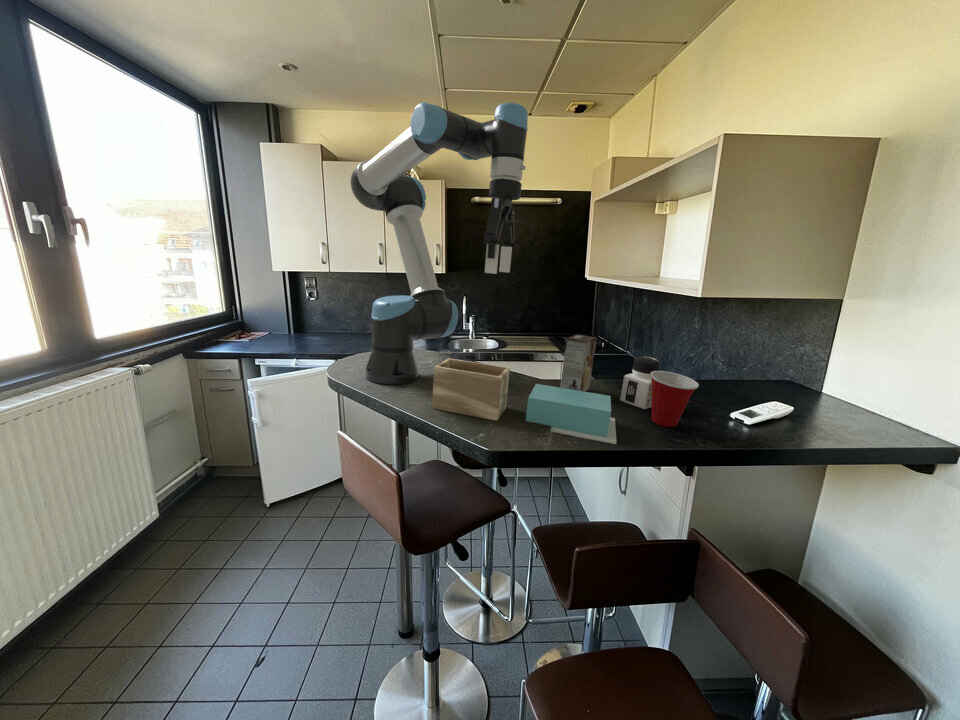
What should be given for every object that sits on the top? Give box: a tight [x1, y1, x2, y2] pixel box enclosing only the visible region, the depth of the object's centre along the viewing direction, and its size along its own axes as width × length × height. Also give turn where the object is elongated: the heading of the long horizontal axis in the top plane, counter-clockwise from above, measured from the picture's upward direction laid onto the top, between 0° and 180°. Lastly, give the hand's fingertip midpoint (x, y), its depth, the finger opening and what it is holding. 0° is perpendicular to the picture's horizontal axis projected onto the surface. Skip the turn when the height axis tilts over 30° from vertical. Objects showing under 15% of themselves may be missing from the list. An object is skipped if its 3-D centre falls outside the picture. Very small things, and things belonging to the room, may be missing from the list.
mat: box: [549, 417, 617, 445], centre depth 93 cm, size 14×22×1 cm, turn 73°
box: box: [431, 357, 511, 422], centre depth 95 cm, size 9×16×11 cm, turn 73°
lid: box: [525, 383, 612, 437], centre depth 93 cm, size 11×18×6 cm, turn 73°
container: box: [619, 356, 661, 410], centre depth 109 cm, size 8×8×13 cm
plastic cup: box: [650, 370, 700, 428], centre depth 96 cm, size 11×11×12 cm
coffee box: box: [559, 334, 598, 392], centre depth 116 cm, size 9×6×16 cm
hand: (497, 272), depth 98 cm, fingers open, 13 cm apart
